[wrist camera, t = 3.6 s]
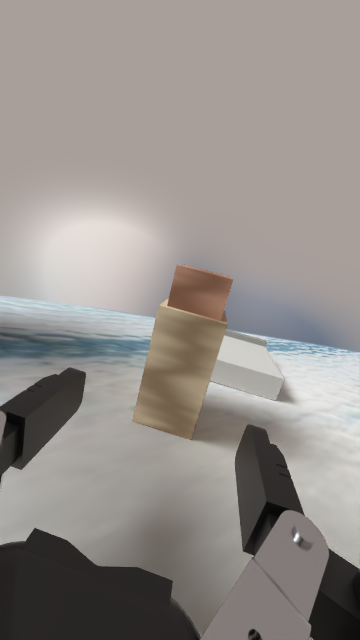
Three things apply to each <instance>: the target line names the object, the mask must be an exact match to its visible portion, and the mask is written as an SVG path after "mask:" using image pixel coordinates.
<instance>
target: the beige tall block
mask: <svg viewBox="0 0 360 640" xmlns="http://www.w3.org/2000/svg"><path fill="white" fill-rule="evenodd" d="M232 282H233V279H232V278H231V277H229V276H225V275H222V274H218V273H213V272H210V271H206V270H203V269H198V268H195V267H191V266H187V265H177V266H176V270H175V275H174V279H173V283H172V287H171V292H170V296H169V298H168V299H167V300H165V301H164V302H163V303H161V304H160V305H159V307H158V311H157V316H156V320H155V324H154V329H153V333H152V338H151V342H150V346H149V351H148V355H147V360H146V364H145V368H144V373H143V377H142V381H141V386H140V390H139V395H138V399H137V403H136V408H135V412H134V416H133V421H134V422H137V423H140V424H143V425H146V426H149V427H153V428H156V429H159V430H162V431H165V432H168V433H171V434H174V435H177V436H180V437H183V438H186V439H189V440H191V439H192V435H193V432H194V429H195V426H196V423H197V420H198V416H199V413H200V410H201V407H202V404H203V401H204V398H205V394H206V391H207V388H208V385H209V382H210V379H211V376H212V372H213V369H214V366H215V363H216V360H217V357H218V354H219V350H220V347H221V344H222V341H223V338H224V335H225V332H226V328H227V325H228V324H227V318H226V314H225V311H224V307H225V305H226V301H227V297H228V295H229V292H230V288H231V285H232Z"/></svg>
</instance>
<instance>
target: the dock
mask: <svg viewBox="0 0 360 640" xmlns="http://www.w3.org/2000/svg"><path fill="white" fill-rule="evenodd" d="M266 343H267V342H266V340H262V339H259V338H255V337H251V336H248V335H244V334H241V333H237V332H234V331H230V330H226V332H225V335H224V338H223V341H222V344H221V347H220V350H219V354H218V357H217V360H216V363H215V366H214V369H213V372H212V376H211V379H210V381H212V382H215V383H218V384H222V385H225V386H228V387H232V388H235V389H238V390H242V391H245V392H248V393H252V394H255V395H258V396H262V397H265V398H268V399H272V400H275V401H276V399H277V396H278V394H279V392H280V389H281V387H282V384H283V382H284V380H285V379H284V377H283V376H282V374H281V372H280V371H279V369H278V367H277V366H276V364H275V362H274V361H273V359H272V357H271V356H270V354H269V352H268V351H267V349H266V347H265V346H266Z"/></svg>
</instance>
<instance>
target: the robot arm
mask: <svg viewBox="0 0 360 640" xmlns="http://www.w3.org/2000/svg"><path fill="white" fill-rule="evenodd" d="M85 378H86V373H85V372H83V371H80V370H77V369H74V368H68V369H66V370H65V371H63V372H62V373H61V374H59V375H57V374H54V375H51V376H48V377H45V378H43V379H41V380H40V381H38V382H37V383H35V384H34V385H32V386H31V387H29V388H28V389H27V390H26V391H25V390H24V391H23V392H21V393H20V394H18V395H17V396H15V397H14V398H12V399H11V400H9V401H8V402H6V403H5V404H3V405H2V406H0V492H1V486H2V481H3V473H4V472H5V471H6V470H7V469H8V468H9V467H10V466H12V467H15V468H18V469H20V470H22V469H23V468H24V467H25V466H26V465H27V464H28V462H29V461H30V460H31V459H32V458H33V457H34V456H35V455H36V454H37V453H38V452H39V451H40V450H41V449H42V448H43V447H44V446H45V444H46V443H47V442H48V441H49V440H50V439H51V438H52V437H53V436H54V435H55V434H56V433H57V432H58V431H59V430H60V429H61V428H62V426H63V425H64V424H65V423H66V422H67V421H68V420H69V419H70V418H71V417H72V416H73V415H74V414H75V413H76V411H77V410H78V408H79V407H80V405H81V402H82V398H83V391H84V385H85ZM287 468H288V467H287V464H286V461H285V458H284V456H283V454H282V453H281V452H280V450H279V449H278V448H277V446H276V445H274V444H271V443H270V442H269V438H268V435H267V432H266V430H265V429H262V428H259V427H256V426H253V425H250V424H248V425H247V427H246V429H245V432H244V434H243V437H242V439H241V442H240V444H239V447H238V449H237V453H236V457H235V471H236V482H237V493H238V503H239V514H240V525H241V536H242V546H243V552H246V553H249V554H252V555H254V557H253V558H252V559H251V560H250V562H249V563H248V565H247V566H246V568H245V570H244V571H243V573H242V574H241V576H240V577H239V579H238V581H237V582H236V584H235V585H234V587H233V588H232V590H231V592H230V593H229V595H228V596H227V598H226V600H225V601H224V603H223V604H222V606H221V607H220V609H219V611H218V612H217V614H216V615H215V617H214V619H213V620H212V622H211V623H210V625H209V626H208V628H207V630H206V631H205V633H204V634H203V636H202V637H200V635H199V633H198V631H197V629H196V628H195V626H194V624H193V622H192V621H191V619H190V618H189V617H188V615H187V614H186V612H185V611H184V610H183V609H182V607H181V606H180V605H179V604H178V603H177V602H176V601H175V600H174V599H173V598H171V590H172V583H173V581H172V580H169V579H167V578H164V577H161V576H159V575H156V574H154V573H151V572H148V571H146V570H143V569H141V568H138V567H101V566H97V565H95V564H94V563H92V562H91V561H90V560H89V559H88V558H87V557H86V556H84V555H83V554H82V553H81V552H80V551H79V550H78V549H76V548H75V547H74V546H73V545H72V544H71V543H70V542H68V541H67V540H65V539H62V538H60V537H57V536H54V535H52V534H49V533H47V532H44V531H41V530H39V529H36V528H34V530H33V531H32V533H31V534H30V536H29V537H28V538H27V540H26V541H20V542H11V543H7V544H2V545H0V640H308V639H309V636H310V637H312V638H313V639H314V640H360V569H358V568H357V567H355V566H354V565H352V564H351V563H349V562H348V561H346V560H345V559H343V558H342V557H340V556H339V555H337V554H336V553H334V552H333V551H332V550H330V549H329V548H328V546H327V543H326V541H325V539H324V537H323V535H322V534H321V532H320V531H319V529H318V528H317V527H316V526H315V525H314V524H313V523H312V522H311V521H310V520H309V519H308V518H307V517H305V515H304V513H303V510H302V507H301V504H300V501H299V498H298V495H297V493H296V490H295V487H294V484H293V481H292V479H291V475H290V473H289V470H288V469H287Z"/></svg>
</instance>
